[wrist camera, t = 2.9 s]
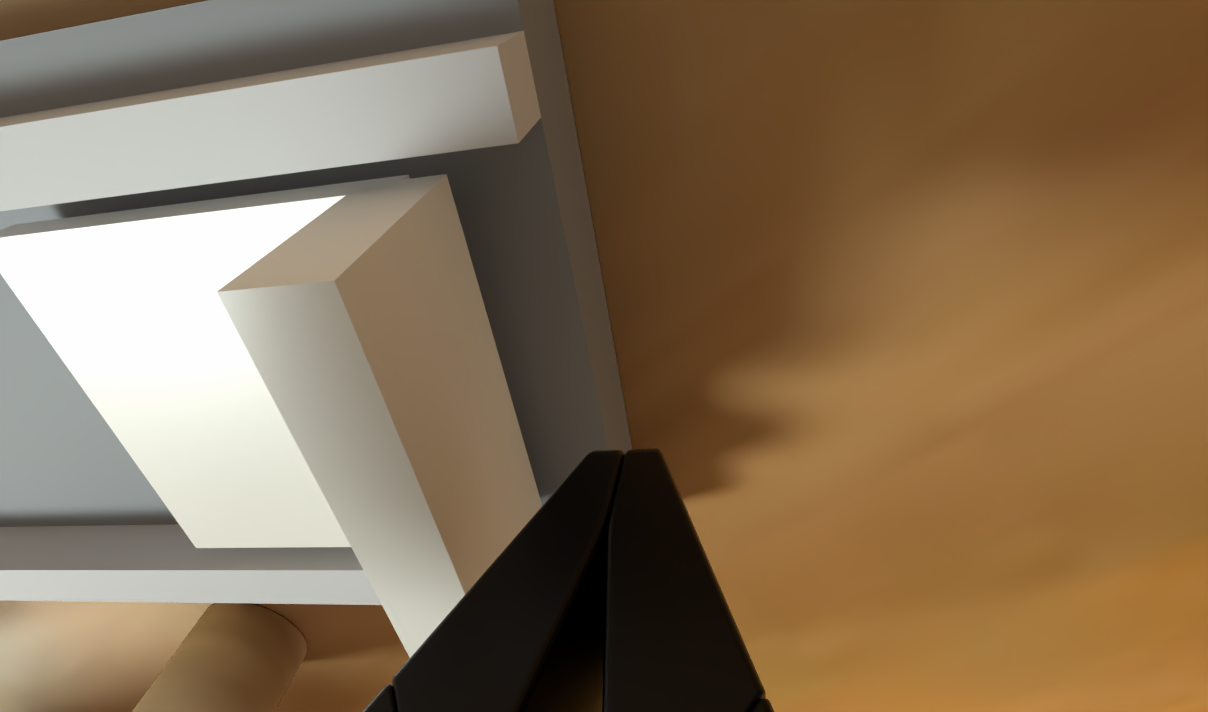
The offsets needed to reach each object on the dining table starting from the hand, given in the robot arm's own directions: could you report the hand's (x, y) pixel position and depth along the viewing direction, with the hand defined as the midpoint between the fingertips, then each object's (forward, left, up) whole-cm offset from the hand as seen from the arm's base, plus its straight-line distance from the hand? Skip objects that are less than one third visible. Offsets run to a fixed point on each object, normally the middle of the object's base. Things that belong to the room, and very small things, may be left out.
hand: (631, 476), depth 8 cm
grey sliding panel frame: (0, +9, -5) cm, 10 cm away
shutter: (0, +6, -2) cm, 6 cm away
